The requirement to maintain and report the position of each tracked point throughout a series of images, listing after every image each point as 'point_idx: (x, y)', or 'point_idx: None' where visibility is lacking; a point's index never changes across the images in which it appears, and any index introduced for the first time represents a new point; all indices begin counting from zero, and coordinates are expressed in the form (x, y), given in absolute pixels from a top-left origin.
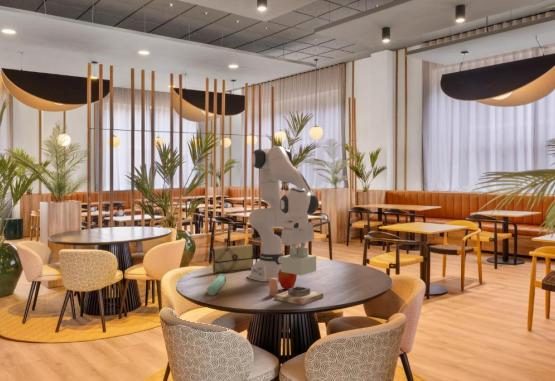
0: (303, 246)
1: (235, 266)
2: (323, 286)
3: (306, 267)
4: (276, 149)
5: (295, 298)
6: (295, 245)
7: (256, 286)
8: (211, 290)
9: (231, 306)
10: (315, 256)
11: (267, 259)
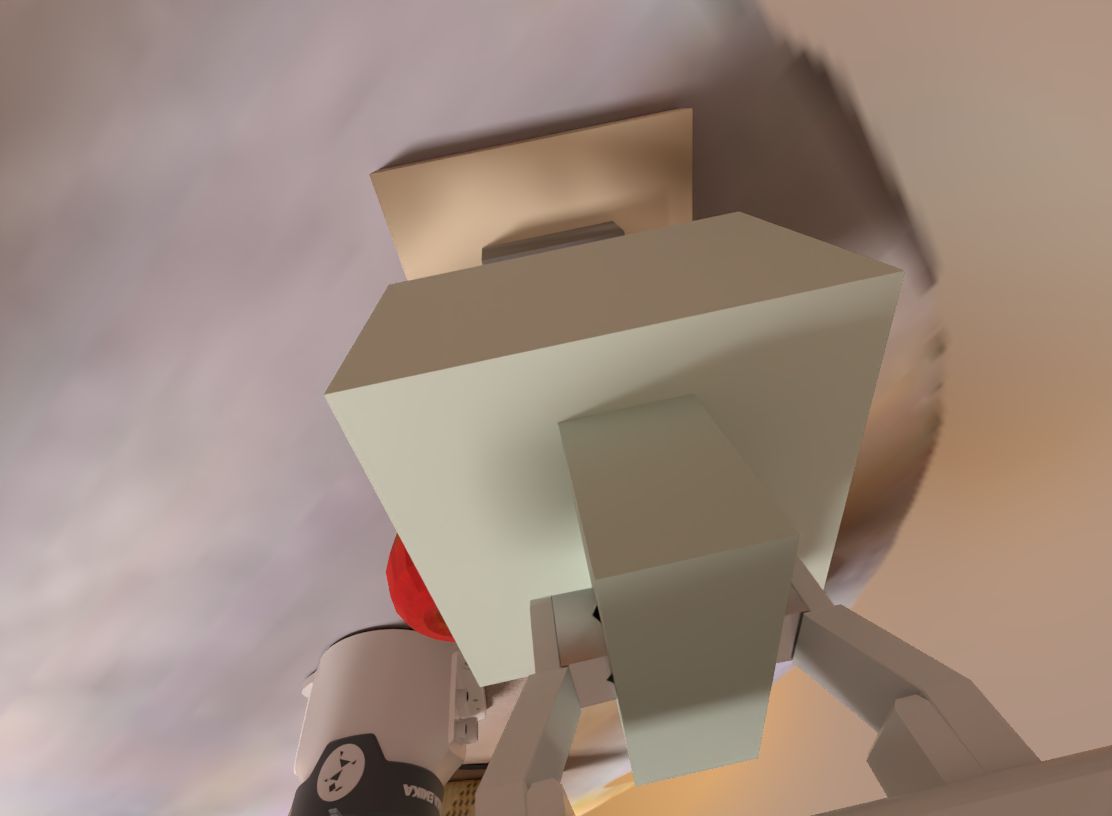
0: (551, 722)
1: (451, 800)
2: (183, 429)
3: (644, 258)
4: None
5: (677, 210)
6: (975, 718)
7: None
8: (823, 590)
9: (929, 395)
10: (354, 385)
11: (428, 782)
